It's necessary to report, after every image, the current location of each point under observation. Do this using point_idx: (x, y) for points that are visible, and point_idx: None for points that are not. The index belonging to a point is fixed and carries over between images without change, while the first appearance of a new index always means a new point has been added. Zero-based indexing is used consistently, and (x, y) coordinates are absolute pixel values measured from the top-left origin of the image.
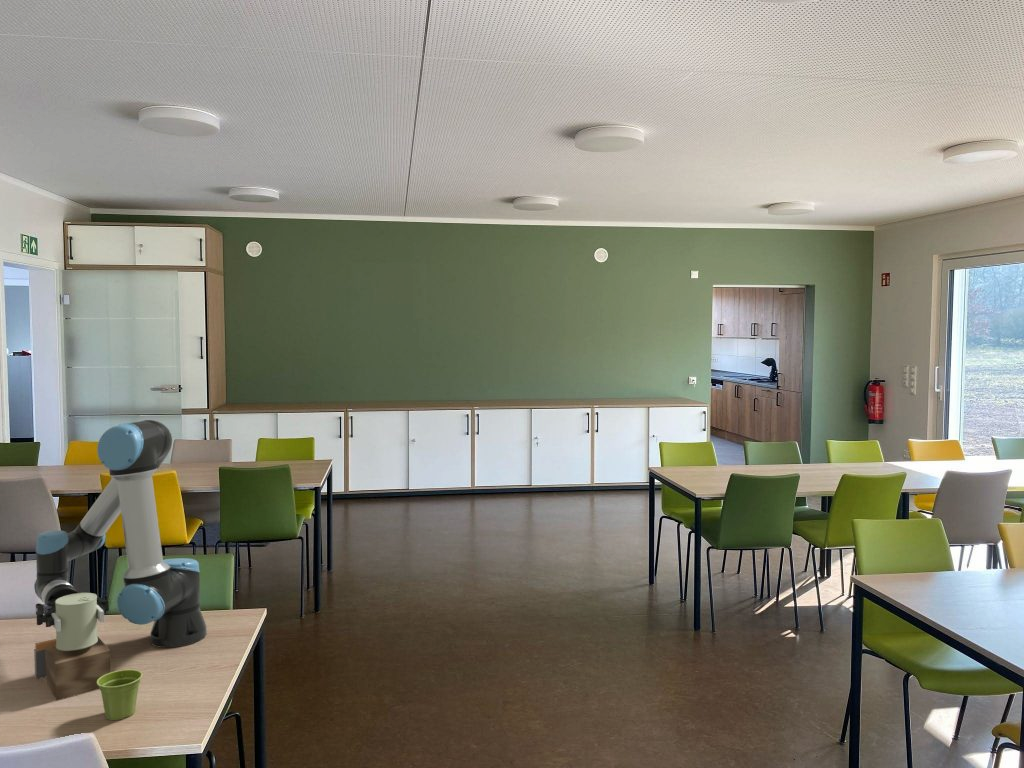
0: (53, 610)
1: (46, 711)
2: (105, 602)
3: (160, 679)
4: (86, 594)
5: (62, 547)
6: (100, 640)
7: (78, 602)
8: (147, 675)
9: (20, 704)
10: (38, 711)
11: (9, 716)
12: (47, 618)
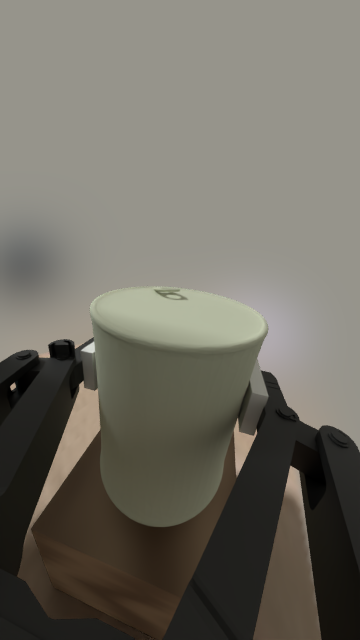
0: (256, 443)
1: (237, 441)
2: (37, 352)
3: (84, 396)
4: (115, 308)
5: None
6: (75, 468)
7: (193, 295)
8: (72, 423)
9: (282, 527)
10: (248, 452)
11: (295, 479)
12: (281, 392)
